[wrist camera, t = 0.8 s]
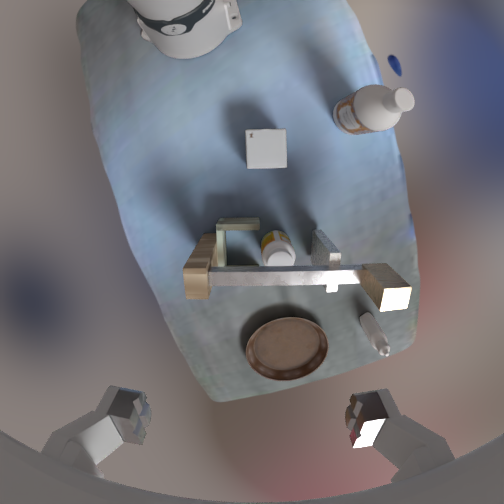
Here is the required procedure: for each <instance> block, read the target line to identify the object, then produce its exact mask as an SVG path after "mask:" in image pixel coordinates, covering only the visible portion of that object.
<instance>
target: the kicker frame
mask: <svg viewBox="0 0 504 504" xmlns="http://www.w3.org/2000/svg"><path fill="white" fill-rule="evenodd" d="M226 230H260V223H259V217H248V218H219V220H218V222H217V224H216V233H204V234H203V236H202V237H201V239H200V240H199V242H198V244H197V245H196V247H195V249H194V250H193V252H192V254H191V255H190V257H189V259H188V260H187V262H186V264H185V265H184V267H183V276H184V285H185V293H186V299H208V298H209V295H210V292H211V288H212V286H209V283H208V268H209V267H216V266H259V265H227V253H226Z"/></svg>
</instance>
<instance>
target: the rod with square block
mask: <svg viewBox="0 0 504 504" xmlns="http://www.w3.org/2000/svg"><path fill="white" fill-rule="evenodd" d="M340 260H341V252H340V251H339V250H338V249H337V247H336V246H335V245H334V244H333V243H332V242H331V240H330V239H329V238H328V237H327V236H326V235H325V233H324V232H323V231H322V230H312V249H311V263H312V266H216V267H209V268H208V283H209V286H274V285H319V284H323V286H324V288H325V290H326V292H337V287H338V284H348V283H360V285H361V286H362V287H363V289H364V290H365V291H366V293H367V294H368V295H369V297H370V298H371V299H372V301H373V302H374V303H375V305H376V306H377V307H378V309H379V310H380V311H385V310H396V309H406V308H407V306H408V302H409V298H410V293H411V289H412V287H411V286H410V285H409V284H408V283H407V282H406V281H405V280H404V279H403V278H402V277H401V276H400V275H399V274H398V273H396V272H395V271H394V270H393V269H392V268H391V267H390V266H389V265H388V264H387V263H377V264H362V265H340Z"/></svg>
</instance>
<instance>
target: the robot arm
mask: <svg viewBox="0 0 504 504" xmlns="http://www.w3.org/2000/svg"><path fill="white" fill-rule="evenodd" d="M126 1H127V2H128V3H129V4H131V5H132V6H133V8H134V11H135V13H136V15H137V17H138V19H137V22H138V23H139V25H140V26H141V28H142V29H143V30H142V34H141V35H142V37H143V39H144V40H146V41H149V42H152V43H153V44H155V46H156V47H157V48H158V49H159V50H160V51H161V52H162V53H163V54H165V55H167V56H169V57H173V58H178V59H189V58H195V57H198V56H201V55H204V54H206V53H208V52H210V51H212V50H213V49H215V48H216V47H217V46H218V45H219V44H220V43H221V42H222V41H223V40H224V39H225V38H226V36H227V35H228V34H229V33H231V32H233V31H235V30H237V29H238V28H240V27H241V26H242V19H241V16H240V12H239V8H238V5H237V1H236V0H126ZM233 17H236V19H232V18H233ZM146 399H147V397H146V394H145V392H142V391H136V390H131V389H127V388H122V387H116V386H109V387H108V389H107V390H106V392H105V394H104V396H103V398H102V400H101V401H100V403H99V405H98V407H97V409H96V410H95V411H91V412H89V413H87V414H86V415H84V416H82V417H80V418H78V419H77V420H75V421H73V422H71V423H69V424H67V425H65V426H64V427H62V428H60V429H58V430H56V431H54V432H52V434H51V436H50V438H49V439H48V441H47V442H46V444H45V446H44V448H43V450H42V451H41V453H40V452H38V451H36V450H34V449H32V448H30V447H28V446H27V445H25V444H23V443H21V442H20V441H18V440H16V439H14V438H13V437H11V436H9V435H8V434H6V433H4V432H3V431H1V430H0V504H504V433H503V434H501V435H500V436H498V437H497V438H495V439H493V440H491V441H490V442H488V443H486V444H485V445H483V446H481V447H479V448H477V449H475V450H473V451H471V452H469V453H468V454H465V455H463V456H461V457H459V458H457V459H455V458H454V456H453V454H452V452H451V450H450V448H449V446H448V444H447V442H446V440H445V438H443V437H441V436H440V435H438V434H436V433H434V432H433V431H431V430H429V429H427V428H426V427H424V426H422V425H421V424H419V423H417V422H415V421H414V420H412V419H411V418H409V417H407V416H406V415H401V414H400V412H399V410H398V408H397V406H396V404H395V402H394V400H393V398H392V396H391V394H390V392H389V390H388V389H380V390H375V391H368V392H362V393H355V394H352V396H351V397H350V403H351V404H350V405H349V406H348V407H347V409H346V412H345V422H346V426H347V428H348V429H349V430H351V434H350V440H351V442H352V446H353V448H357V447H363V446H368V445H372V446H373V447H374V448H375V449H376V450H378V451H379V452H380V453H381V454H382V455H383V456H384V457H386V458H387V459H388V460H389V461H390V462H392V463H393V464H394V465H395V466H396V467H397V468H399V471H398V472H397V473H396V474H395V475H394V476H393V478H392V479H391V482H392V483H391V484H387V485H383V486H380V487H376V488H372V489H368V490H364V491H359V492H354V493H350V494H344V495H338V496H333V497H327V498H319V499H310V500H301V501H289V502H269V503H268V502H265V503H245V502H222V501H208V500H200V499H191V498H184V497H177V496H171V495H166V494H161V493H155V492H151V491H146V490H142V489H138V488H134V487H130V486H126V485H122V484H119V483H116V482H112V481H109V480H106V479H103V477H104V475H103V473H102V472H101V470H100V469H99V468H98V467H97V466H96V465H97V464H98V463H99V462H100V461H102V460H103V459H104V458H105V457H107V456H108V455H109V454H110V453H112V452H113V451H114V450H115V449H116V448H118V447H119V446H120V445H121V444H122V443H124V442H129V443H134V444H139V445H143V442H144V439H145V436H146V431H145V429H144V428H146V427H147V426H149V424H150V421H151V408H150V405H149V404H148V403H147V402H146ZM123 441H124V442H123Z"/></svg>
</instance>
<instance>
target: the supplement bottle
mask: <svg viewBox="0 0 504 504" xmlns="http://www.w3.org/2000/svg"><path fill="white" fill-rule="evenodd" d="M261 253H262V260H263V263H264V265H265V266H293V264H294V262H295V251H294V249H293V246H292V244H291V241H290V239H289V237H288V236H287V235H286V234H285V233H284V232H281V231H277V230H275V231H271V232H268V233H267V234H266V235H265V236H264V237H263V239H262V241H261Z"/></svg>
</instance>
